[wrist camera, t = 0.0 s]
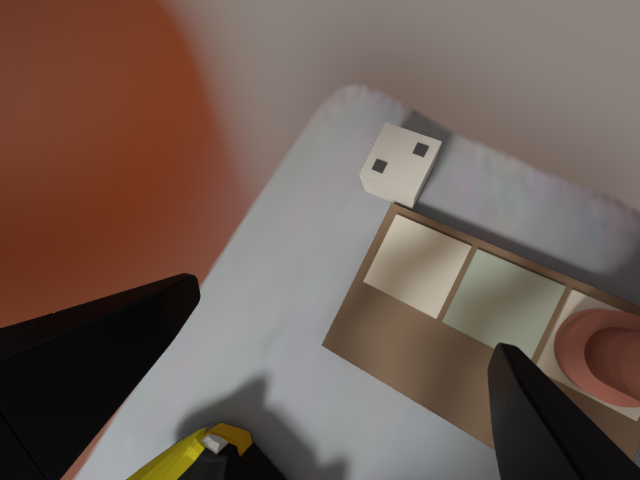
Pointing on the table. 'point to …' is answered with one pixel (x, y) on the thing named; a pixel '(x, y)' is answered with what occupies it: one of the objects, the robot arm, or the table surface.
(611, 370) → the pawn
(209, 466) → the gaming controller
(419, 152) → the die
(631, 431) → the game board
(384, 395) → the table surface
